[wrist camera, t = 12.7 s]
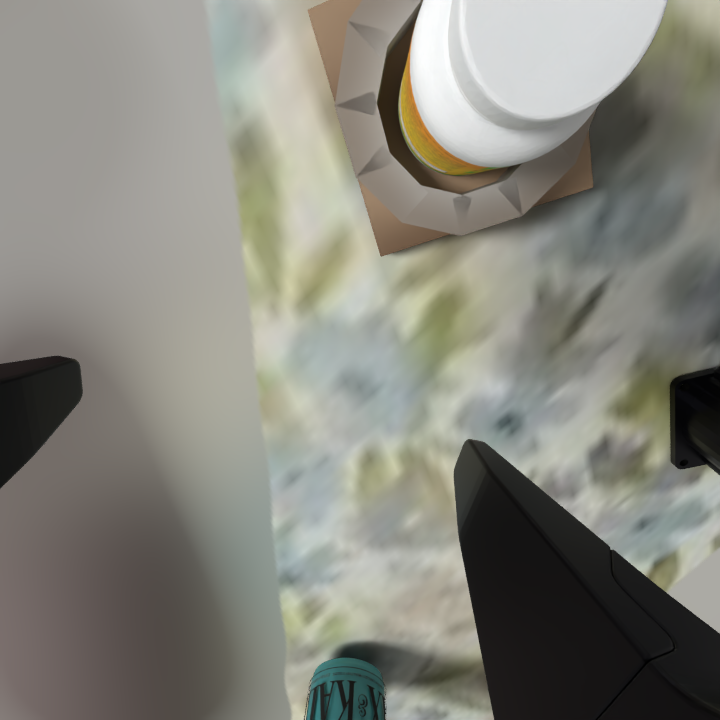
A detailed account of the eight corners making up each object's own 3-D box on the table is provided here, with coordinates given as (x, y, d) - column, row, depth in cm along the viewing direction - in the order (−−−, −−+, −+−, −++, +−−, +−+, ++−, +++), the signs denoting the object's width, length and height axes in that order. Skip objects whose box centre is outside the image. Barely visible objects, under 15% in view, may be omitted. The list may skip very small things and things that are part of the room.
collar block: (580, 187, 18) (612, 186, 16) (380, 253, 20) (381, 261, 17) (555, -85, 15) (591, -142, 12) (312, 22, 16) (300, -9, 14)
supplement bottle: (450, 203, 18) (524, 214, 9) (371, 104, 16) (365, -4, 7) (552, 108, 16) (770, 3, 7) (474, -11, 15) (626, -329, 6)
